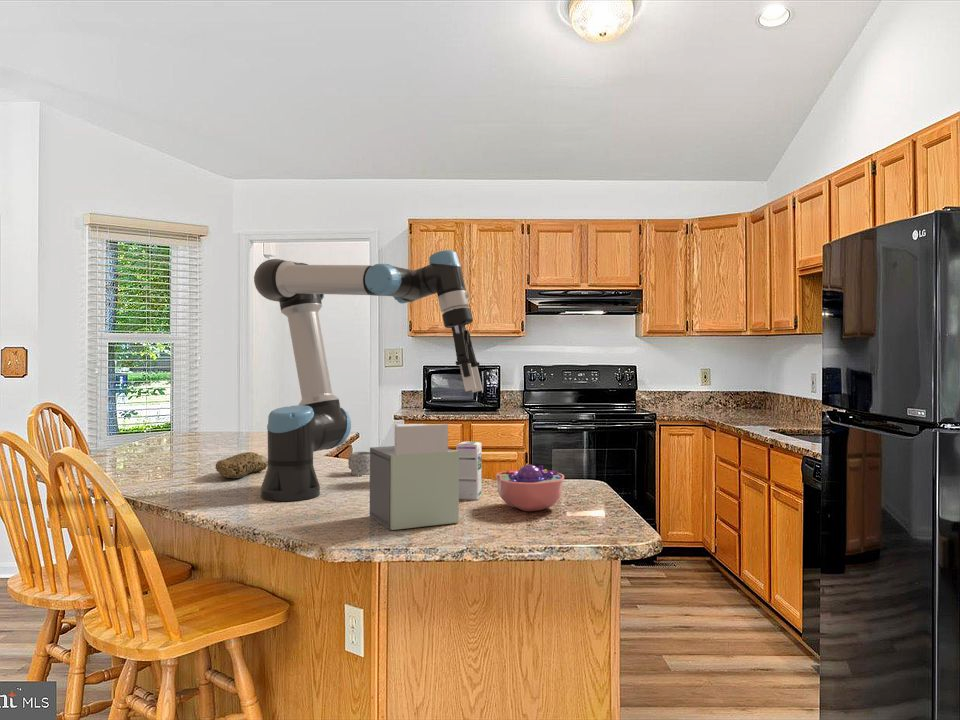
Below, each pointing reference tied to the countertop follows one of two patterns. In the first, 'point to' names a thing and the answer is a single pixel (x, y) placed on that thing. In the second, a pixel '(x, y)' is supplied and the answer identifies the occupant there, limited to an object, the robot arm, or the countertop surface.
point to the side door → (423, 478)
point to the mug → (359, 463)
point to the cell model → (530, 487)
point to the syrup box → (470, 470)
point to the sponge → (241, 465)
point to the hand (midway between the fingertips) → (474, 391)
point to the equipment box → (381, 483)
